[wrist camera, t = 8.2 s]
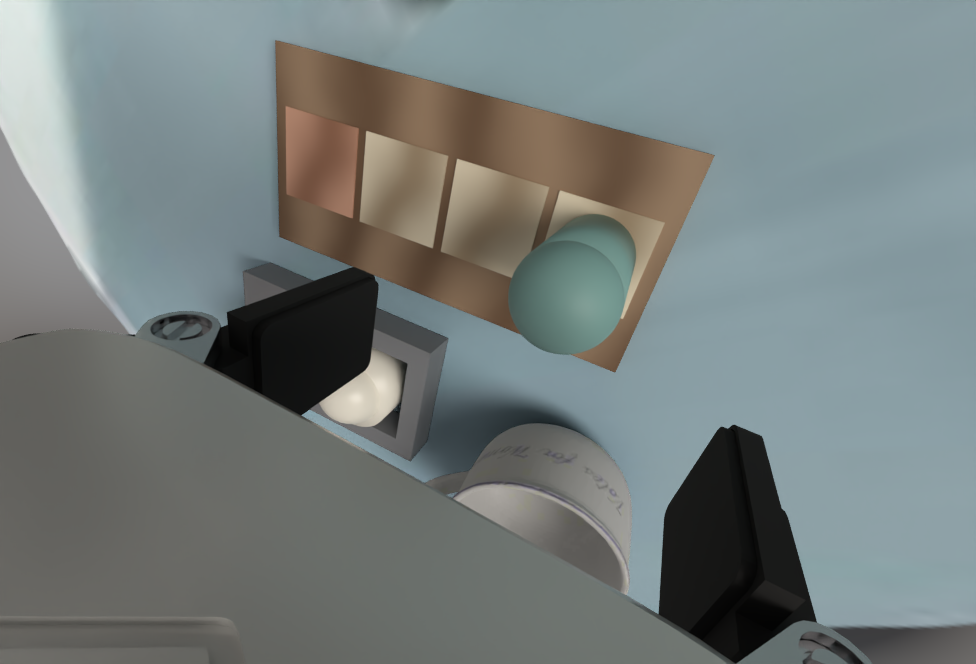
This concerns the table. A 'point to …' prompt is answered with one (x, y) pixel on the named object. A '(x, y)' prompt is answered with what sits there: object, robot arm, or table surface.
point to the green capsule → (573, 285)
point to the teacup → (553, 497)
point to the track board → (463, 184)
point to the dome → (369, 392)
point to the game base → (394, 339)
